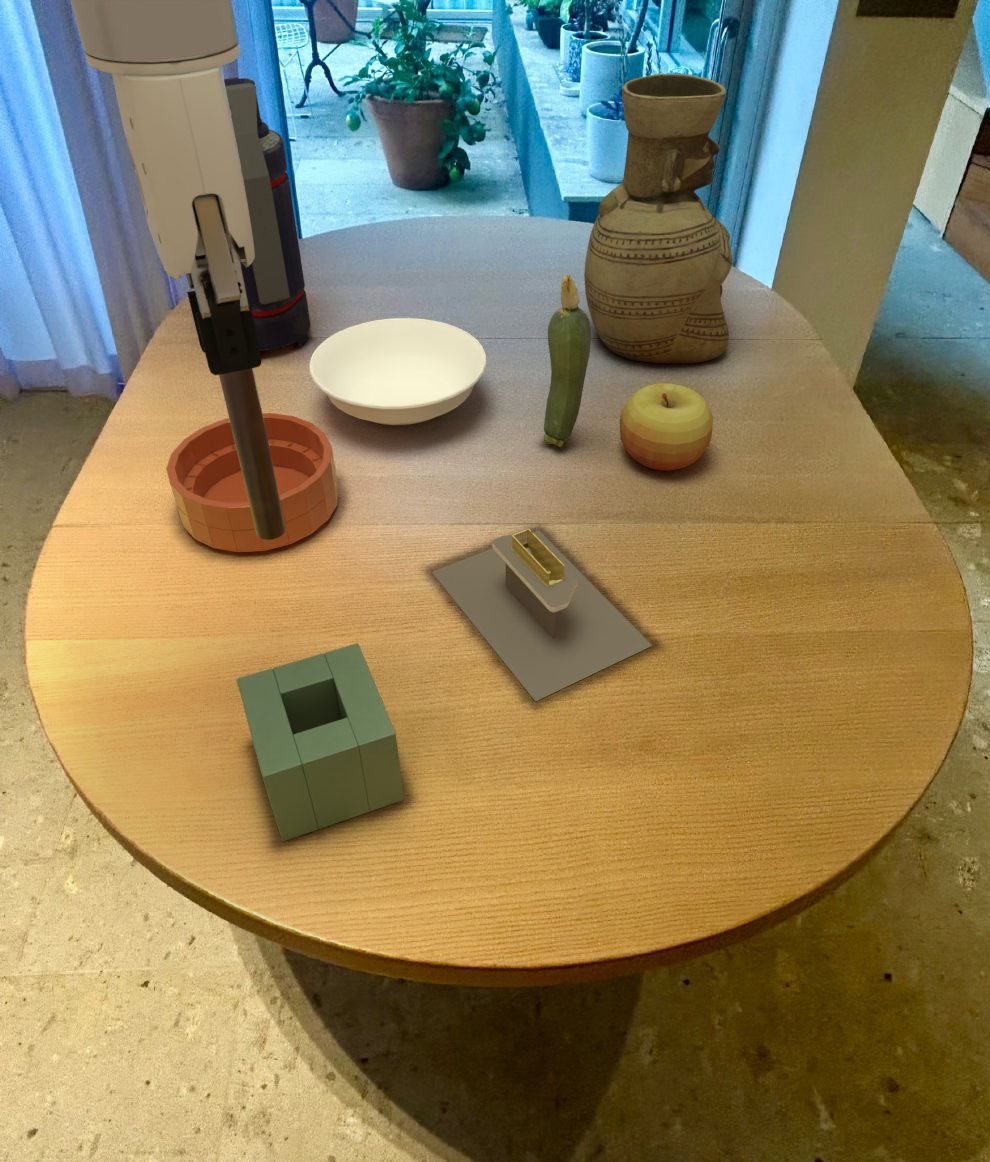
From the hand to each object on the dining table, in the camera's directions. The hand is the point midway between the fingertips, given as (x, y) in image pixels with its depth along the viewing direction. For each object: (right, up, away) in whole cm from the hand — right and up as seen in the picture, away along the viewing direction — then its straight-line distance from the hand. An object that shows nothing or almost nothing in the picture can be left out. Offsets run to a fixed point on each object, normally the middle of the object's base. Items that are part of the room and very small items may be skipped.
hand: (231, 356), depth 56 cm
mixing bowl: (-7, -7, +34) cm, 35 cm away
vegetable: (+24, +1, +42) cm, 48 cm away
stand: (+4, -29, +10) cm, 31 cm away
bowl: (+6, +6, +47) cm, 48 cm away
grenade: (-13, +17, +59) cm, 63 cm away
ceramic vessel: (+37, +17, +59) cm, 72 cm away
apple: (+35, -1, +40) cm, 53 cm away
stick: (0, -11, +10) cm, 15 cm away
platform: (+21, -17, +23) cm, 35 cm away
